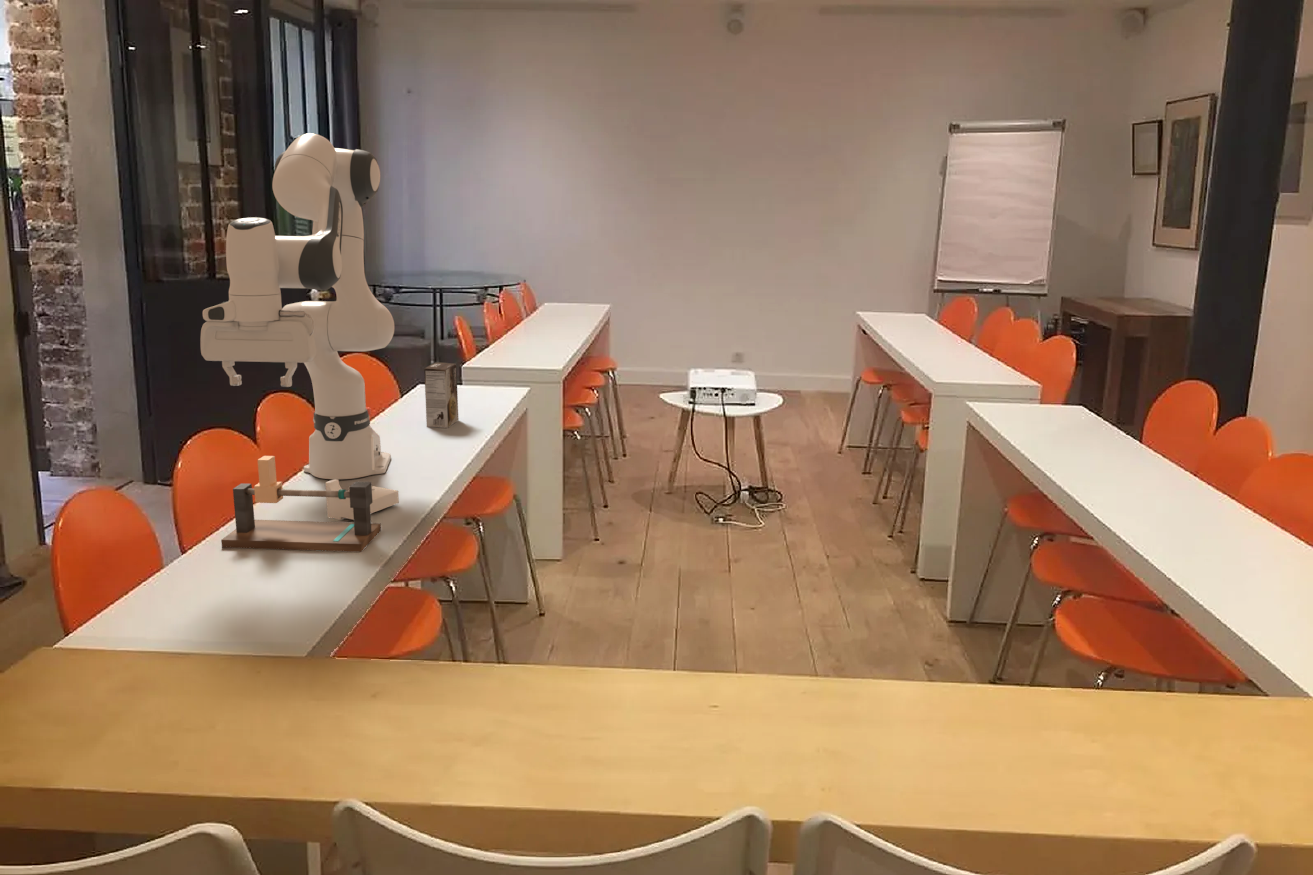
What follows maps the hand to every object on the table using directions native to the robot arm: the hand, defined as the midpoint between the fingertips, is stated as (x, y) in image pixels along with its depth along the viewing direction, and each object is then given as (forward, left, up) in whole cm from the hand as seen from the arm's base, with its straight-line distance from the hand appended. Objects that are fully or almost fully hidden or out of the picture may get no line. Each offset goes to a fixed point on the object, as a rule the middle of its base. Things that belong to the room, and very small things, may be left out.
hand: (261, 385), depth 201 cm
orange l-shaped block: (+1, 0, -22) cm, 22 cm away
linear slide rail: (+1, +6, -29) cm, 30 cm away
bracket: (-17, +12, -30) cm, 36 cm away
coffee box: (-95, +8, -29) cm, 100 cm away
